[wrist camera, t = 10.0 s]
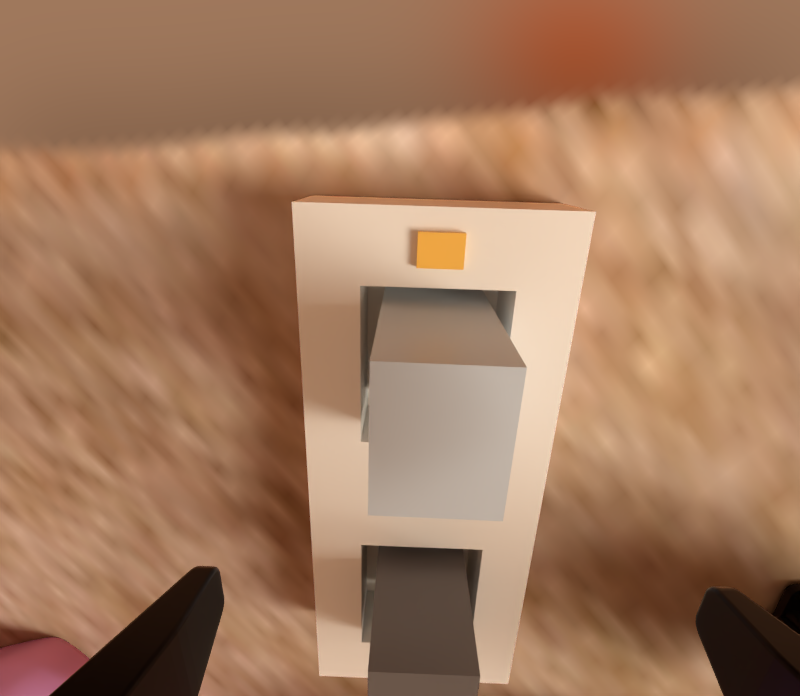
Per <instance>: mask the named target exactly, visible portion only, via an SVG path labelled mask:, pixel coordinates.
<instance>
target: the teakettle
mask: <svg viewBox="0 0 800 696" xmlns="http://www.w3.org/2000/svg"><path fill="white" fill-rule="evenodd" d="M88 660H89V658H88V657H87V656H86V655H84V654H83V653H82V652H81V651H79V650H78V649H77V648H76V647H74V646H73V645H71V644H70V643H68V642H67V641H65V640H63V639H61V638H57V637H46V638H41V639H36V640H31V641H27V642H23V643H18V644H14V645H10V646H6V647H2V648H0V696H49V695H50V694H51V693H52V692H53V691H54V690H56V689H57V688H58V687H59V686H60V685H61V684H62V683H63V682H65V681H66V680H67V679H68V678H69V677H70V676H71V675H73V674H74V673H75V672H76V671H77V670H78V669H79V668H80V667H82V666H83V665H84V664H85V663H86V662H87V661H88Z"/></svg>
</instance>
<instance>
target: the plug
mask: <svg viewBox="0 0 800 696" xmlns="http://www.w3.org/2000/svg"><path fill="white" fill-rule="evenodd" d="M526 371H527V367H526V365H525V363H524V362H523V360H522V358H521V356H520V355H519V353H518V351H517V349H516V348H515V346H514V344H513V342H512V341H511V339H510V337H509V335H508V334H507V332H506V330H505V329H504V327H503V325H502V323H501V322H500V320H499V318H498V316H497V315H496V313H495V311H494V309H493V308H492V306H491V304H490V302H489V301H488V299H487V297H486V295H485V294H484V292H483V290H471V289H442V288H412V287H385V291H384V296H383V300H382V305H381V310H380V314H379V319H378V324H377V329H376V333H375V338H374V343H373V347H372V352H371V357H370V373H369V463H368V515H371V516H394V517H417V518H439V519H462V520H484V521H503V518H504V512H505V505H506V499H507V492H508V486H509V480H510V473H511V467H512V460H513V454H514V448H515V441H516V435H517V428H518V422H519V416H520V409H521V403H522V396H523V390H524V384H525V377H526Z"/></svg>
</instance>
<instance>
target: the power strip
mask: <svg viewBox="0 0 800 696" xmlns="http://www.w3.org/2000/svg"><path fill="white" fill-rule="evenodd" d="M595 214H596V212H595V211H591V210H587V209H583V208H579V207H575V206H571V205H567V204H563V203H535V202H504V201H474V200H443V199H412V198H381V197H350V196H319V195H312V196H309V197H306V198H302V199H299V200H296V201H292V218H293V235H294V252H295V269H296V286H297V303H298V320H299V337H300V354H301V371H302V388H303V405H304V422H305V439H306V456H307V473H308V490H309V507H310V524H311V541H312V558H313V575H314V592H315V609H316V626H317V643H318V660H319V676H336V677H359V678H368V664H369V652H370V640H371V629H372V617H373V605H374V594H375V582H376V570H377V558H378V547H379V546H401V547H425V548H450V549H463V552H464V560H465V567H466V574H467V582H468V589H469V596H470V604H471V611H472V619H473V626H474V633H475V641H476V648H477V655H478V663H479V670H480V682H479V683H498V684H508V682H509V676H510V671H511V666H512V660H513V655H514V650H515V644H516V639H517V633H518V628H519V623H520V617H521V612H522V607H523V601H524V596H525V590H526V585H527V580H528V574H529V569H530V564H531V558H532V553H533V547H534V542H535V537H536V531H537V526H538V521H539V515H540V510H541V504H542V499H543V494H544V488H545V483H546V478H547V472H548V467H549V462H550V456H551V451H552V445H553V440H554V435H555V429H556V424H557V419H558V413H559V408H560V402H561V397H562V392H563V386H564V381H565V376H566V370H567V365H568V359H569V354H570V349H571V343H572V338H573V333H574V327H575V322H576V316H577V311H578V306H579V300H580V295H581V290H582V284H583V279H584V273H585V268H586V263H587V257H588V252H589V247H590V241H591V236H592V230H593V225H594V220H595ZM385 287H412V288H442V289H471V290H483V292H484V294H485V295H486V297H487V299H488V301H489V302H490V304H491V306H492V308H493V309H494V311H495V313H496V315H497V316H498V318H499V320H500V322H501V323H502V325H503V327H504V329H505V330H506V332H507V334H508V335H509V337H510V339H511V341H512V342H513V344H514V346H515V348H516V349H517V351H518V353H519V355H520V356H521V358H522V360H523V362H524V363H525V365H526V367H527V371H526V377H525V384H524V390H523V396H522V403H521V409H520V416H519V422H518V428H517V435H516V441H515V448H514V454H513V460H512V467H511V473H510V480H509V486H508V492H507V499H506V505H505V512H504V518H503V521H484V520H462V519H439V518H417V517H394V516H371V515H368V463H369V373H370V357H371V352H372V347H373V343H374V338H375V333H376V329H377V324H378V319H379V314H380V310H381V305H382V300H383V296H384V291H385Z"/></svg>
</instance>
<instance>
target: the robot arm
mask: <svg viewBox="0 0 800 696" xmlns="http://www.w3.org/2000/svg"><path fill="white" fill-rule="evenodd" d="M223 607H224V594H223V588H222V582H221V576H220V572H219V569H218V568H217V567H212V566H197V567H194V568H193V569H191V570H190V571H189V572H188V573H187V574H186V575H184V576H183V577H182V578H181V579H180V580H179V581H178V582H177V583H175V584H174V585H173V586H172V587H171V588H170V589H169V590H167V591H166V592H165V593H164V594H163V595H162V596H161V597H160V598H158V599H157V600H156V601H155V602H154V603H153V604H152V605H151V606H149V607H148V608H147V609H146V610H145V611H144V612H143V613H141V614H140V615H139V616H138V617H137V618H136V619H135V620H134V621H132V622H131V623H130V624H129V625H128V626H127V627H126V628H125V629H123V630H122V631H121V632H120V633H119V634H118V635H117V636H115V637H114V638H113V639H112V640H111V641H110V642H109V643H108V644H106V645H105V646H104V647H103V648H102V649H101V650H100V651H99V652H97V653H96V654H95V655H94V656H93V657H92V658H91V659H89V660H88V661H87V662H86V663H85V664H84V665H83V666H82V667H80V668H79V669H78V670H77V671H76V672H75V673H74V674H73V675H71V676H70V677H69V678H68V679H67V680H66V681H65V682H63V683H62V684H61V685H60V686H59V687H58V688H57V689H56V690H54V691H53V692H52V693H51V694H50V695H49V696H198V693H199V690H200V687H201V684H202V680H203V677H204V673H205V670H206V667H207V663H208V660H209V656H210V653H211V649H212V646H213V643H214V639H215V636H216V632H217V629H218V626H219V622H220V619H221V615H222V612H223ZM696 627H697V631H698V634H699V636H700V639H701V641H702V644H703V646H704V649H705V651H706V654H707V656H708V659H709V661H710V663H711V666H712V668H713V671H714V673H715V676H716V678H717V681H718V683H719V686H720V688H721V691H722V693H723V696H800V584H794V585H791V586H789V587H787V588H786V590H785V592H784V594H783V596H782V598H781V600H780V602H779V604H778V606H777V608H776V610H775V612H774V614H773V615H771V614H770V613H769V612H767V611H766V610H765V609H763V608H762V607H761V606H759V605H758V604H756V603H755V602H754V601H752V600H751V599H750V598H748V597H747V596H745V595H744V594H743V593H741V592H740V591H738V590H737V589H735V588H732V587H719V586H712V587H709V588H708V589H707V590H706V592H705V594H704V597H703V599H702V602H701V605H700V607H699V610H698V612H697V615H696Z"/></svg>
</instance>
